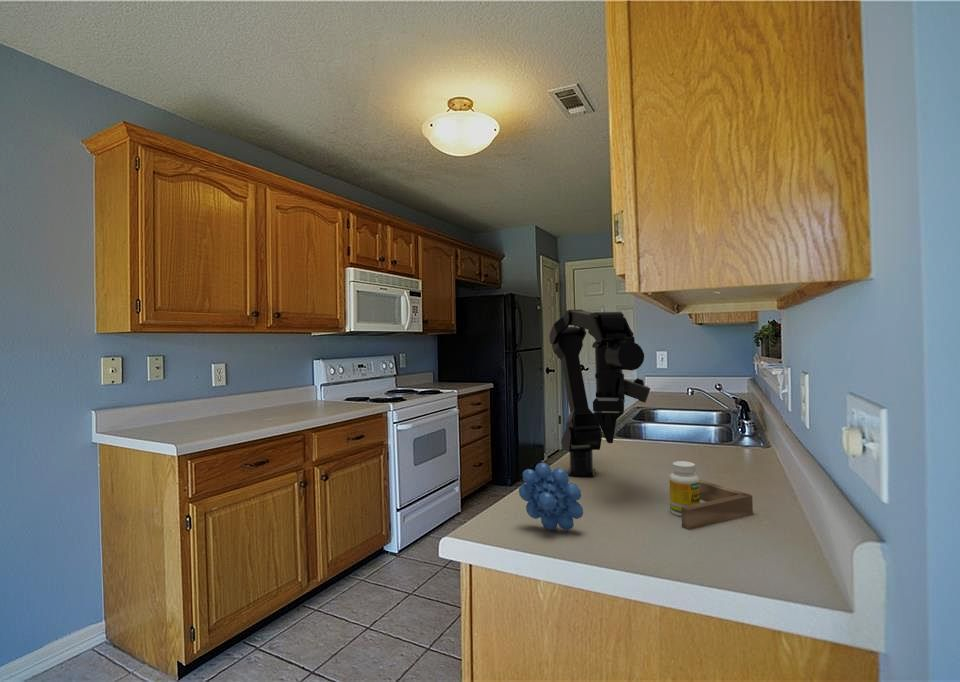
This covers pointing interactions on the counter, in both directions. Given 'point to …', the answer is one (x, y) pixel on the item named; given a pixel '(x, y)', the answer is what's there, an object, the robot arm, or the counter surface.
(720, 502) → the walnut corner walls
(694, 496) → the supplement bottle
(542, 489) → the blue knobby flower
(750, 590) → the counter surface
